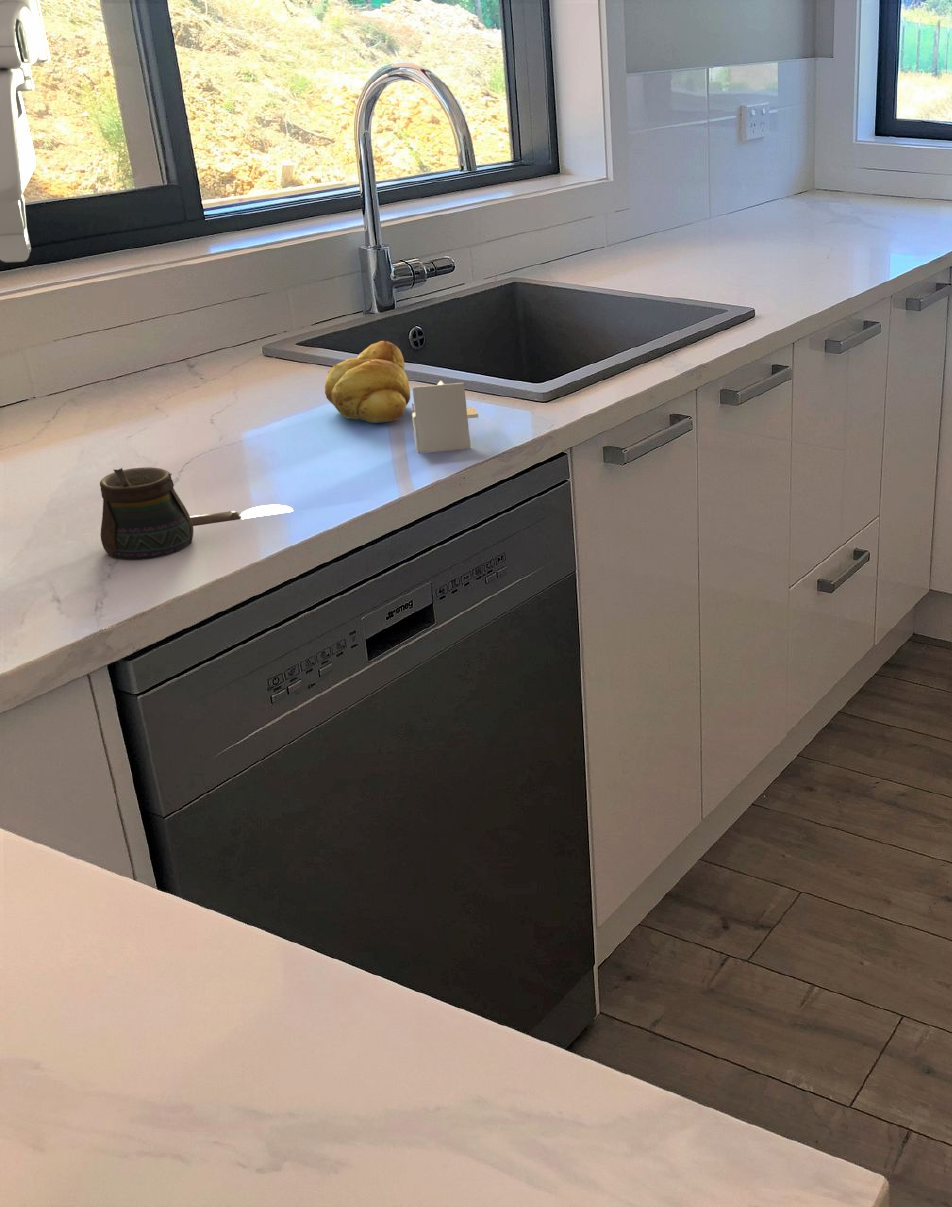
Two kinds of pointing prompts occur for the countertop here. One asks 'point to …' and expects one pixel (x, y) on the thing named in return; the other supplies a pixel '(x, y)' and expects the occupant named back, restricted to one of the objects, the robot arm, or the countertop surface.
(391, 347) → the bread roll
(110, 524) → the mate gourd
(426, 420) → the architectural model
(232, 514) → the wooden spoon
